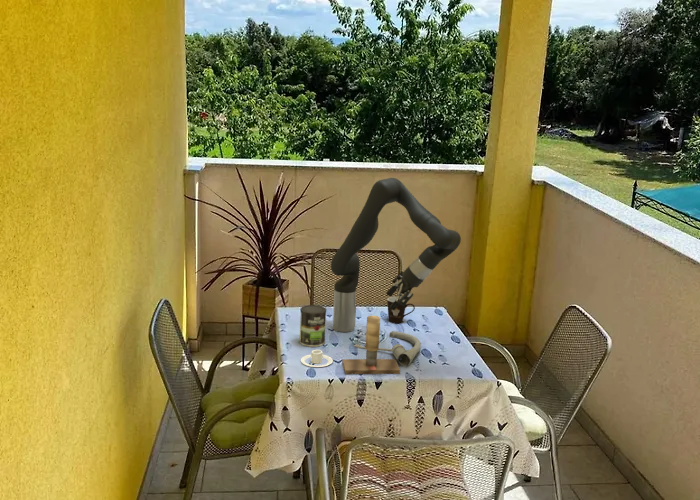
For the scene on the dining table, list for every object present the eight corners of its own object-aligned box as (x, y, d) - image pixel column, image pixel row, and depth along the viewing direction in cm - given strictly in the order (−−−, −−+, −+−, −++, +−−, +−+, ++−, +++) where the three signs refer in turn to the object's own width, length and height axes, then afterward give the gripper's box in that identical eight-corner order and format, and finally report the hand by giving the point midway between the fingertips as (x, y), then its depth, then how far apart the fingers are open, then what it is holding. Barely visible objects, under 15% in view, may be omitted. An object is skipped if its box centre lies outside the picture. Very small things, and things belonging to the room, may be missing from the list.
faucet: (343, 358, 261) (373, 336, 285) (410, 366, 248) (435, 343, 272) (342, 346, 260) (373, 325, 284) (409, 354, 247) (435, 331, 272)
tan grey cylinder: (369, 360, 249) (371, 314, 245) (380, 363, 247) (382, 317, 243) (362, 364, 246) (364, 318, 241) (373, 367, 243) (375, 321, 239)
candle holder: (303, 354, 257) (303, 344, 256) (334, 356, 256) (334, 346, 255) (298, 367, 245) (298, 356, 244) (331, 369, 244) (331, 358, 243)
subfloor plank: (345, 374, 241) (345, 369, 240) (342, 363, 250) (342, 358, 250) (399, 373, 243) (400, 369, 243) (394, 362, 253) (395, 358, 252)
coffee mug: (382, 321, 297) (383, 299, 294) (392, 316, 304) (393, 295, 301) (404, 327, 290) (406, 305, 288) (414, 322, 297) (416, 301, 295)
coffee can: (328, 345, 266) (330, 312, 263) (304, 348, 263) (305, 314, 259) (320, 336, 276) (321, 303, 272) (296, 338, 272) (297, 305, 268)
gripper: (406, 256, 247) (379, 286, 253) (413, 278, 235) (384, 309, 241) (421, 265, 250) (394, 294, 256) (429, 287, 238) (400, 318, 244)
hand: (389, 301), depth 249 cm, fingers open, 8 cm apart
